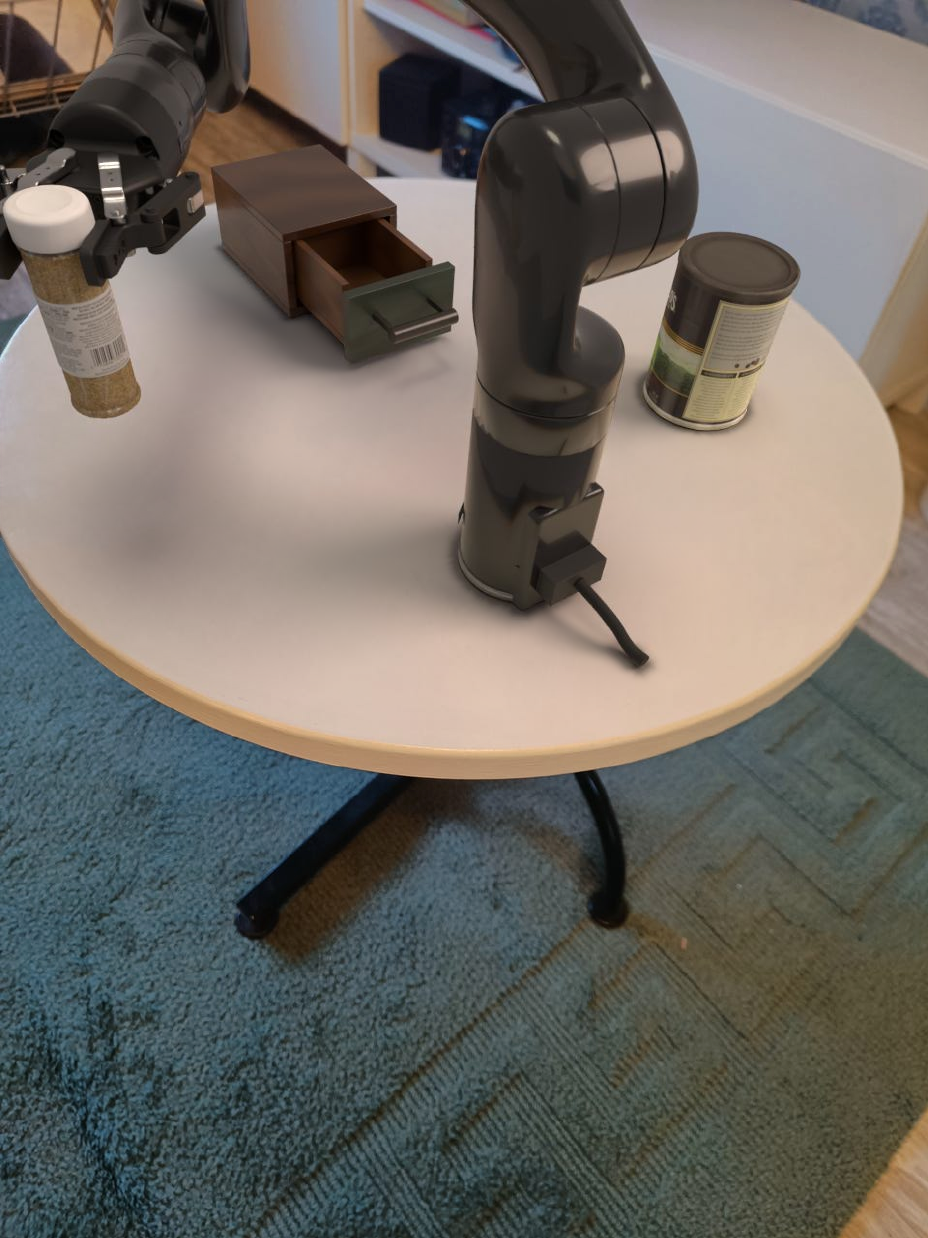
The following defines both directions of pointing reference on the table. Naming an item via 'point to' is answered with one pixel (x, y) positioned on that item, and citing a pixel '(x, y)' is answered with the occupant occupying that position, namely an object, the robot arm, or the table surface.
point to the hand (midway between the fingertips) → (43, 267)
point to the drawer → (373, 288)
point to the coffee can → (718, 328)
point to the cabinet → (288, 211)
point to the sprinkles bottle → (73, 299)
